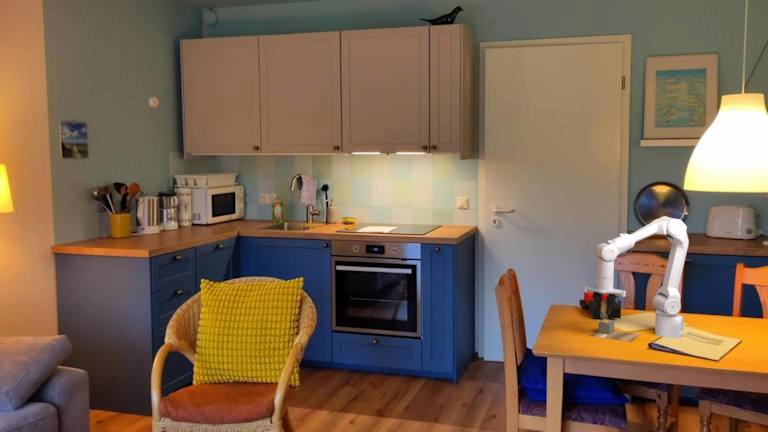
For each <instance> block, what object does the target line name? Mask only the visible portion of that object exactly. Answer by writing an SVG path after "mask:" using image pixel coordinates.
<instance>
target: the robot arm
mask: <svg viewBox="0 0 768 432" xmlns="http://www.w3.org/2000/svg"><path fill="white" fill-rule="evenodd" d="M687 228H688V227H687V224H685V223H684V222H683V220H681V219H678V218H674V217H673V218H672V217H669V216H665V215H663V216H661V217H659V218H656V219H654V220H653V221H651V222H650V223H648V224H646V225H645V226H643V227H641V228H639V229H637V230H636V231H634V232H632V233H630V234H629V233H627V232H624V233H619V234H618V236H617V237H615V238H613V239H608V240H607V241H606V242H603V243H599V244H598V245H597V247H596V249H595V250H594V254H595V256H596V257H597V261H596V262H597V265H596V266H597V267H596V268H597V269H596V286H588V285H585V286H584V287H583V293H584V292H586V293H587V292H590V293H593V295H592V297H593V299H594V301H595V304H596V307H597V311H598V314H600V310H601V300H602V297H603V294H606V295H609V296H607V297H606V298H607V315H610V313H611V309H612V306H613V304H614V302H615V301H617V300H616V299H617V297H621V298H625V297H626V296H627V291H626V290H622V289H617V288H614V278H615V277H614V276H615V275H614V272H615V270H614V269H615V259H616V258H617V257H618V256H619V255H621V254H622V253H625V252H627V251H629V250H631V249H633V248H634V247H635V243H637V242H639V241H642V240H644V239H647V238H648V237H651V236H653V235H663V236H665V237H666V238H667V240H668V241H669V242H670V244H671V247H670V251H669V255H668V259H667V260H668V261H667V263H666V269H665V273H664V277H663V282H662V286H660V287H659V288H658V289H657V293H656V294H655V296H654V297H653V299H652V305H653V306H654V308H655V325H654V326H655V327H654V334H655V336H658V337H660V338H673V339H680V340H681V338H682V337H683V336H684V330H685V329H684V328H685V319H684V316H682V315H680V314H679V313H680V312H681V308H682V307H681V306H682V304H681V296H682V295H681V294H680V291H679V287H680V282H681V279H682V278H681V277H682V274H683V270H684V265H685V262H686V257H687V253H688V252H687V251H688V249H689V243H690V240H689V236H688V233H687V230H688V229H687Z"/></svg>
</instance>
